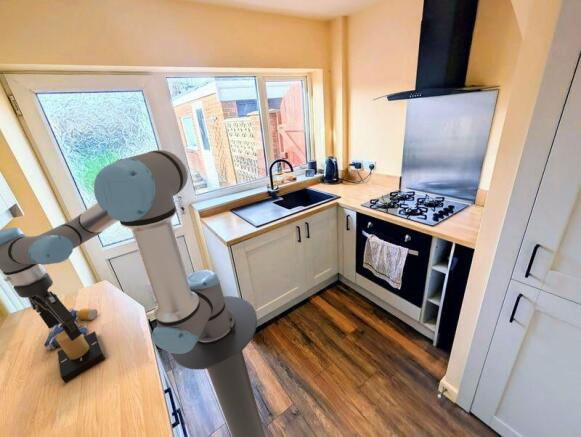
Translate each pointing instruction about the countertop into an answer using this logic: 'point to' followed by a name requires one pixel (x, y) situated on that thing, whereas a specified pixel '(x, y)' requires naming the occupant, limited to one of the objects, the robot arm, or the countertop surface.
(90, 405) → the countertop surface
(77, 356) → the brass dial cylinder
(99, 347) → the black dial panel
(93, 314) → the spray gun
